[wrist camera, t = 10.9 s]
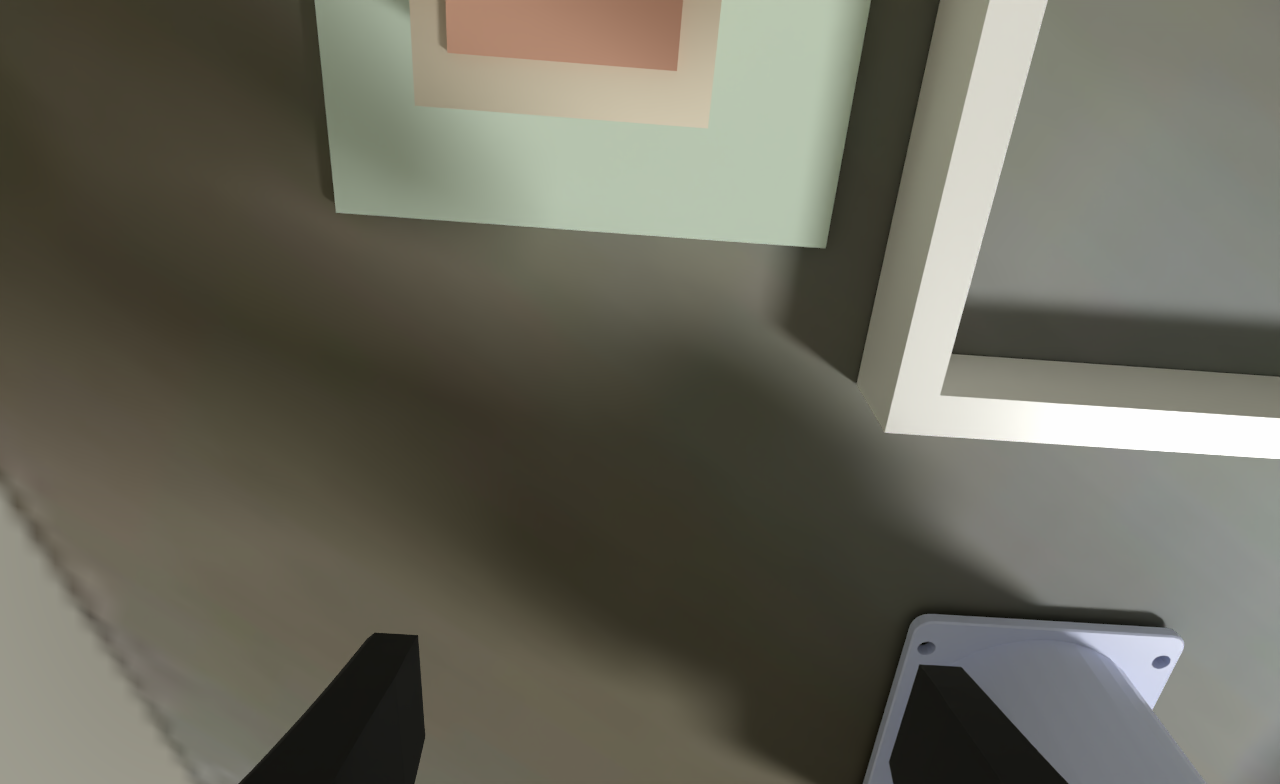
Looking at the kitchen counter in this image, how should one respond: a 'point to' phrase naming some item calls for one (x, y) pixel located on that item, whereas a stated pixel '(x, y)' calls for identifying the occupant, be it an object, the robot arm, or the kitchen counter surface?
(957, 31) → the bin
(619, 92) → the birch block
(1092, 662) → the robot arm
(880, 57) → the kitchen counter surface
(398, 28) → the pad
